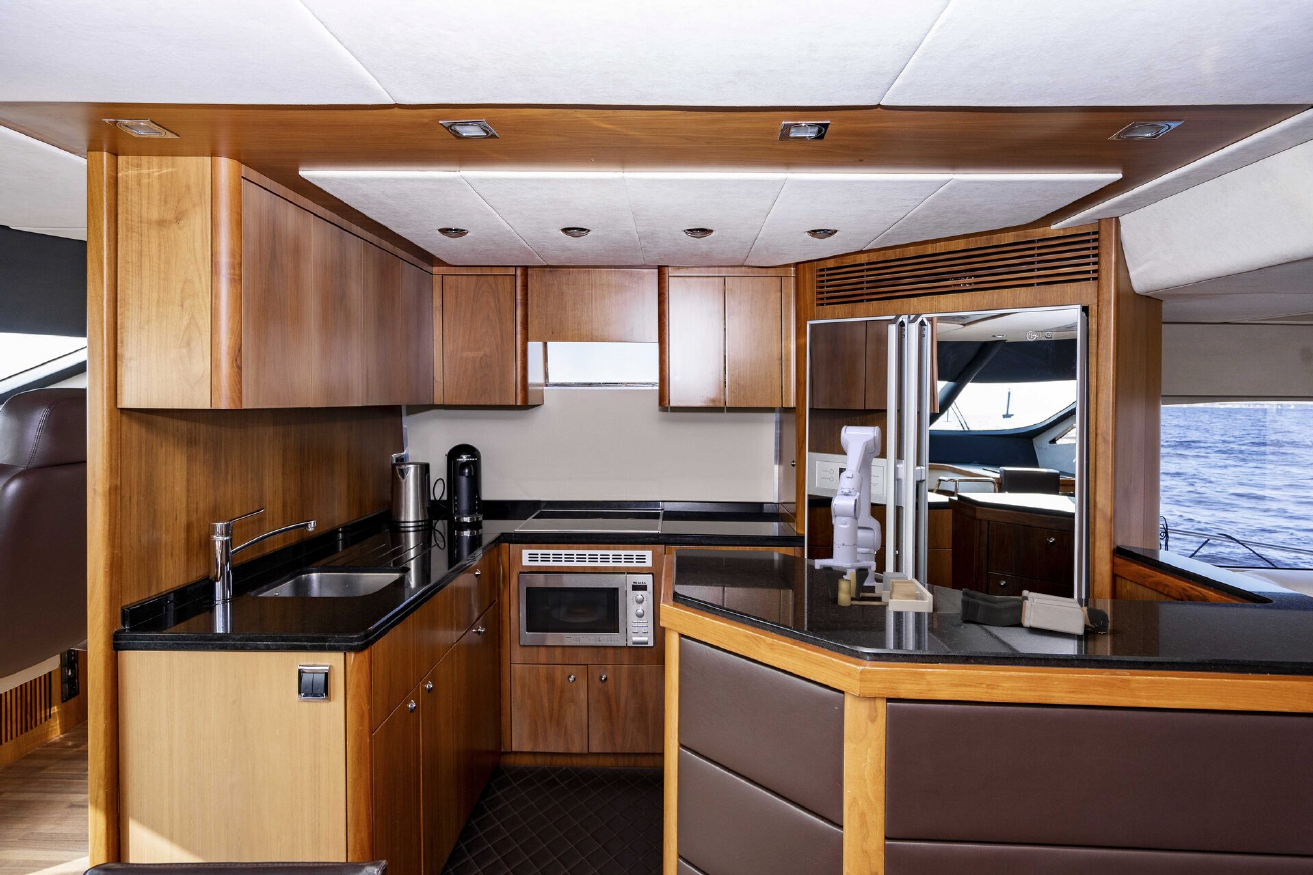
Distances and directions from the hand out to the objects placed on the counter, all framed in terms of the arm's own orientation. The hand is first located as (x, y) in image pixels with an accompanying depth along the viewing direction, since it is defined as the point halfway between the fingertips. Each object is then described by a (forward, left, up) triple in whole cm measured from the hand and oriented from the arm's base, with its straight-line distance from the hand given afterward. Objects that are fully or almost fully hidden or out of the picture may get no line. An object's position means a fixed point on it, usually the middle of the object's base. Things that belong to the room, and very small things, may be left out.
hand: (844, 597), depth 181 cm
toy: (+11, +40, -2) cm, 42 cm away
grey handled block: (-8, +9, -2) cm, 13 cm away
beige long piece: (0, +8, -2) cm, 8 cm away
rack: (-4, +15, -2) cm, 16 cm away
